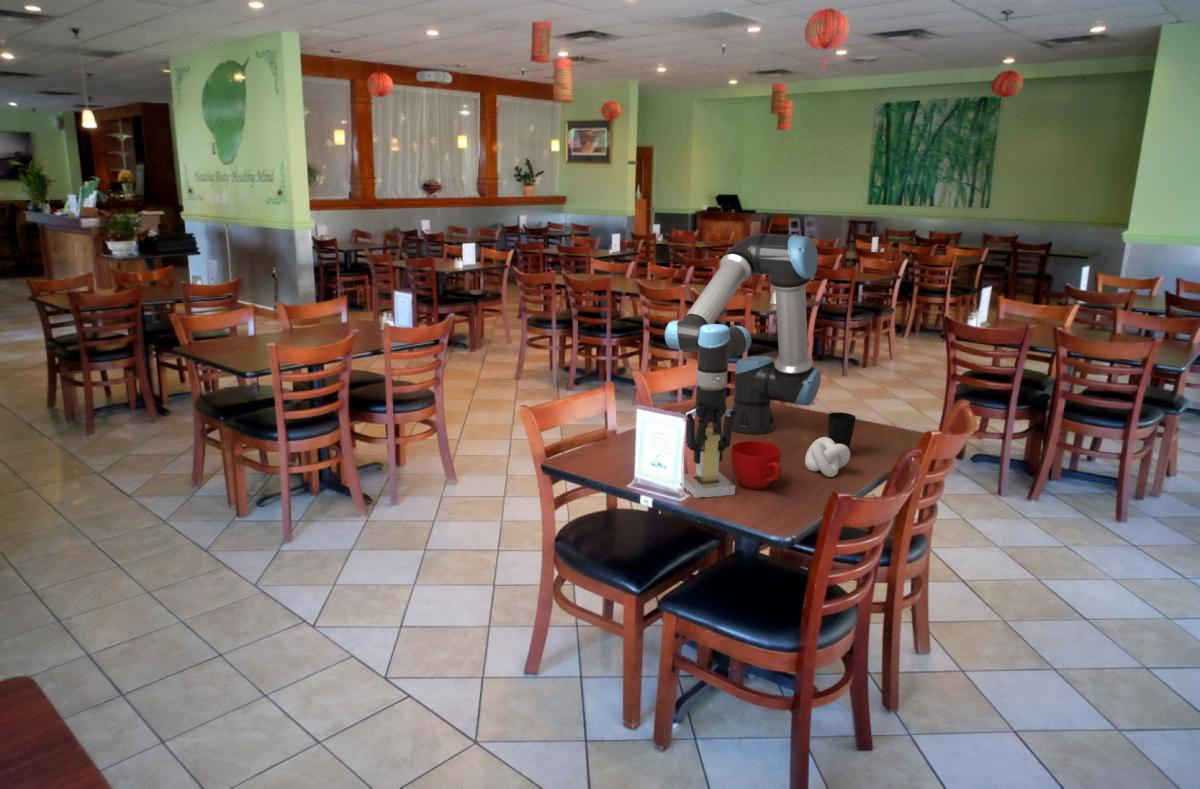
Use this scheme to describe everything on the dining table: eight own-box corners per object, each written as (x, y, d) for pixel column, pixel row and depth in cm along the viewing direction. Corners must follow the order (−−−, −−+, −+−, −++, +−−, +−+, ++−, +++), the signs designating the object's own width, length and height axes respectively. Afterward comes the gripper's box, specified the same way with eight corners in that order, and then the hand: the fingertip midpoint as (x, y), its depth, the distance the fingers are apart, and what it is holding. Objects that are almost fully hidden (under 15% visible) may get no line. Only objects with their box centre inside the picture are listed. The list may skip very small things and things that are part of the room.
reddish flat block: (681, 445, 219) (683, 443, 218) (697, 443, 221) (699, 441, 219) (688, 481, 216) (690, 479, 215) (704, 479, 217) (706, 478, 216)
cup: (853, 460, 233) (857, 420, 230) (825, 458, 235) (829, 418, 232) (850, 451, 241) (854, 413, 237) (824, 449, 242) (827, 411, 239)
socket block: (678, 483, 214) (679, 474, 213) (716, 479, 217) (717, 470, 216) (694, 498, 204) (695, 489, 203) (734, 494, 207) (735, 485, 206)
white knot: (841, 483, 216) (844, 451, 213) (796, 475, 221) (799, 444, 219) (850, 470, 225) (854, 440, 223) (808, 463, 231) (810, 433, 229)
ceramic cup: (755, 502, 202) (758, 464, 200) (719, 479, 217) (721, 444, 215) (798, 495, 207) (801, 458, 205) (760, 473, 222) (762, 438, 220)
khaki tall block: (695, 479, 212) (698, 429, 209) (708, 478, 213) (711, 428, 210) (704, 488, 207) (707, 436, 203) (717, 486, 208) (720, 435, 204)
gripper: (686, 392, 198) (682, 482, 204) (748, 388, 202) (742, 476, 208) (675, 384, 205) (671, 471, 211) (735, 381, 209) (730, 466, 215)
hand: (707, 473), depth 209 cm, fingers closed on khaki tall block, 4 cm apart
